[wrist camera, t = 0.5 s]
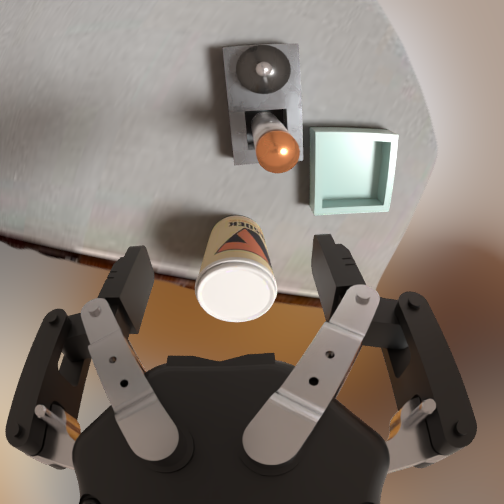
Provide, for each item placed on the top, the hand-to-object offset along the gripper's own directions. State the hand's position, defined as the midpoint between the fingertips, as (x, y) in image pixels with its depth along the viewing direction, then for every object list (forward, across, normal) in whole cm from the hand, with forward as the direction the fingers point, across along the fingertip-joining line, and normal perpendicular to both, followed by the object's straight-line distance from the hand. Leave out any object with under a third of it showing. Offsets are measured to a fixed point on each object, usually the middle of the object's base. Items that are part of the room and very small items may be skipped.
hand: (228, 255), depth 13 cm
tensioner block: (+24, -4, -4) cm, 24 cm away
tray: (+24, -15, +4) cm, 28 cm away
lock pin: (+24, -4, -2) cm, 24 cm away
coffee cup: (+24, +1, +15) cm, 28 cm away
